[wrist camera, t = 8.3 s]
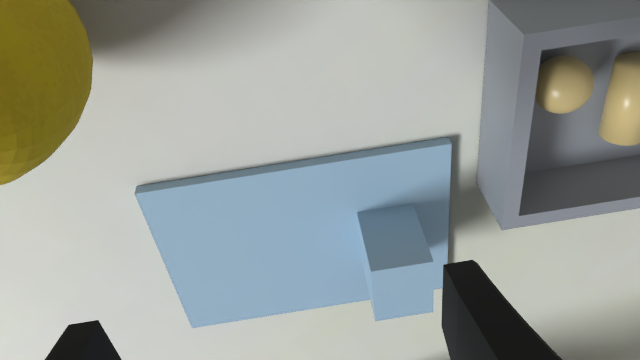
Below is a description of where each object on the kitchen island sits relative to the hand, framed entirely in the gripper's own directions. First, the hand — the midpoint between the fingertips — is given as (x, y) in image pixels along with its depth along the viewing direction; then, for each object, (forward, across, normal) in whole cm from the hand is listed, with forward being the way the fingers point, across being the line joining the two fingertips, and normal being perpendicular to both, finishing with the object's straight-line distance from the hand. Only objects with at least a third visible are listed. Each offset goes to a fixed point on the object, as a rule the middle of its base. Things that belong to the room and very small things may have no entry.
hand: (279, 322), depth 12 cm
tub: (+10, -14, +2) cm, 18 cm away
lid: (+11, 0, +8) cm, 13 cm away
